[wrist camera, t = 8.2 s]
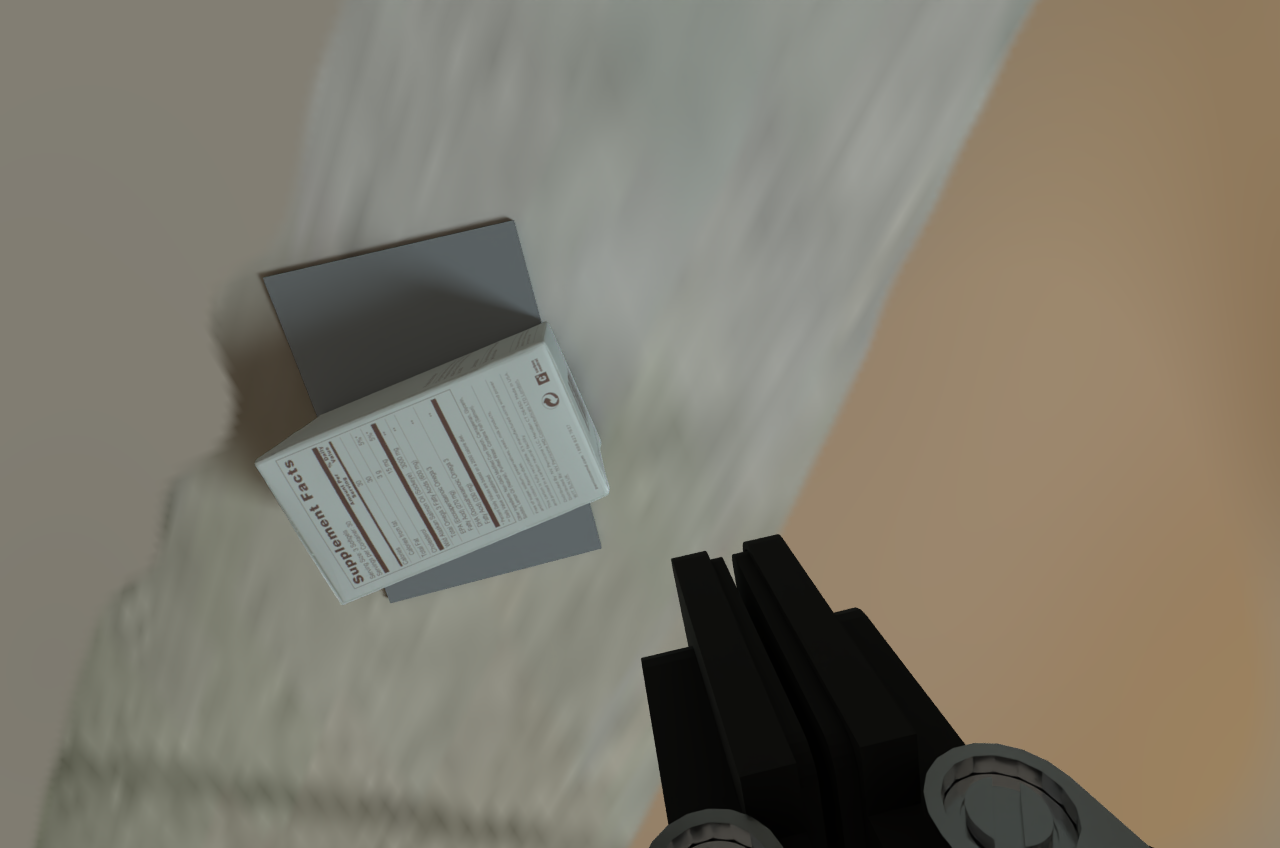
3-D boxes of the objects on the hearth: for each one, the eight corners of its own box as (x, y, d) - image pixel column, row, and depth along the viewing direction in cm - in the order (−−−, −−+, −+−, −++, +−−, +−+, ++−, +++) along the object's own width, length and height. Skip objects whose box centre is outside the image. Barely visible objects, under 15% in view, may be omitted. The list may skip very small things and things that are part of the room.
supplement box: (604, 445, 34) (386, 534, 34) (548, 316, 32) (315, 411, 32) (615, 499, 27) (340, 612, 27) (544, 338, 25) (243, 461, 25)
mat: (514, 220, 31) (513, 220, 30) (600, 545, 36) (601, 548, 36) (266, 277, 30) (262, 277, 30) (392, 599, 35) (390, 603, 35)
